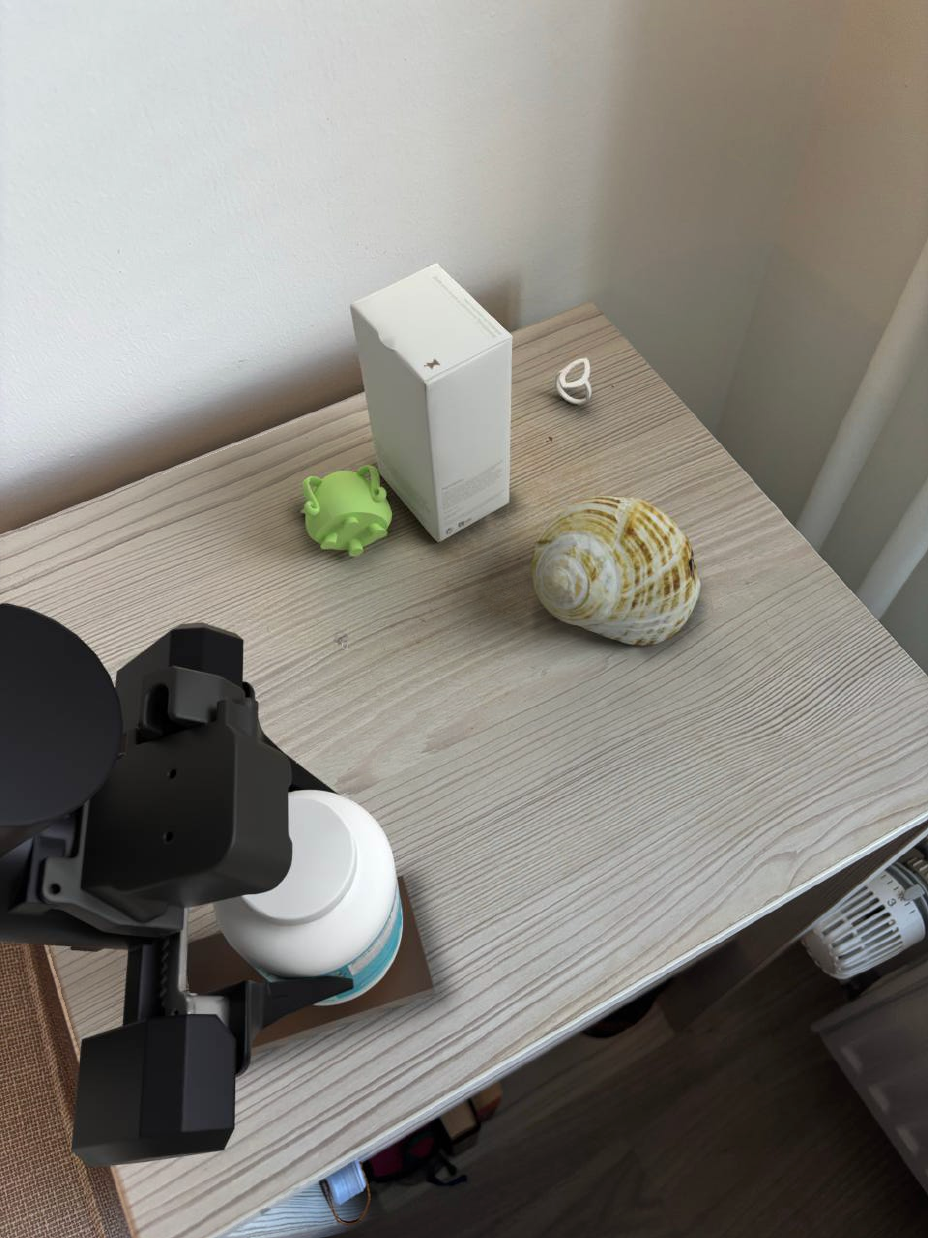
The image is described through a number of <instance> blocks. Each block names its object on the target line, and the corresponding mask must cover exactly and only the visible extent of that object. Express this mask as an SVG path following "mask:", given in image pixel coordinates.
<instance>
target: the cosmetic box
mask: <svg viewBox="0 0 928 1238" xmlns="http://www.w3.org/2000/svg"><path fill="white" fill-rule="evenodd" d="M349 311H350V316H351V322H352V325H353V326H352V327H353V332H354V338H355V344H356V349H357V355H358V362H359V366H360V373H361V376H362V377H361V379H362V383H363V389H364V394H365V401H366V407H367V413H368V417H369V423H370V429H371V435H372V438H373V446H374V447H373V448H374V453H375V458H376V464H377V470H378V472H379V475H380V476H381V477H382V478H383V480H385V482H386V483H387V484H388V485H389V486H390V488H391V489H392V490H393V492H394V493H395V494H396V495H397V497H398V498H399V499H400V500H401V502H403V504H404V505H405V506H406V507H407V509H408V510H409V511H410V512H411V513H412V515H413V516H414V517H415V518H416V519H417V520H418V522H419V523H420V524H421V525H422V526H423V527H424V529H425V530H426V531H427V533H429V535H430V536H431V537H432V538H433V539H434V540H435V542H437V543H441V542H443V541H444V540H446V539H448V538H449V537H451V536H453V535H455V534H456V533H458V532H460V531H462V530H464V529H465V528H468V527H470V526H471V525H473V524H474V523H476V522H478V521H480V520H481V519H483V518H484V517H486V516H488V515H490V514H492V513H493V512H495V511H497V510H498V509H501V508H502V507H504V506H505V505H507V504H509V503H510V477H511V475H510V474H511V422H512V421H511V420H512V419H511V418H512V417H511V416H512V365H513V364H512V360H513V338H514V336H513V335H512V334H511V333H510V332H509V331H508V330H507V329H506V328H504V327H503V326H502V325H501V324H500V323H499V322H498V321H497V320H496V319H495V318H494V317H493V316H492V315H491V314H490V313H489V312H488V311H487V310H486V309H485V308H484V307H482V305H481V304H479V302H477V300H475V298H474V297H472V296H471V295H470V294H469V293H468V292H467V291H466V290H465V289H464V288H463V287H462V286H461V285H460V284H459V282H457V281H456V280H455V279H454V278H453V277H452V276H451V275H449V273H447V272H446V271H445V269H444V268H442V267H441V266H440V265H439V264H438V263H434V264H431V265H429V266H427V267H425V268H422V269H420V270H418V271H416V272H414V273H412V274H410V275H409V276H407V277H406V276H405V278H402V279H401V280H398V281H397V282H395V283H393V284H389V285H388V286H386V287H383V288H382V289H380V290H377V291H375V292H373V293H371V294H369V295H366V296H364V297H362V298H360V299H358V300H356V301H354V302H352V303H350V304H349Z"/></svg>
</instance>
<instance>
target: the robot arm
mask: <svg viewBox="0 0 928 1238" xmlns="http://www.w3.org/2000/svg"><path fill="white" fill-rule="evenodd" d="M244 642H245V641H244V639H243V638H242V637H241V636H240V635H239V634H238V633H235V632H233V631H230V630H227V629H223V628H220V627H218V626H214V625H211V624H208V623H207V622H206V623H205V622H201V621H200V622H189V623H181V624H178V625H177V626H175V627H174V628H172V629H170V630H169V631H168V632H167V633H165V634H163V635H162V636H161V637H159V638H158V639H157V640H155V641H154V642H153V643H152V644H150V645H149V646H148V647H147V648H145V649H144V650H143V651H141V652H140V653H138V655H137V656H135V657H134V658H132V659H130V660H129V661H128V662H127V663H126V664H125V665H124V664H123V666H122V667H120V668H119V669H118V670H116V674H115V683H114V681H113V678H112V676H111V674H110V673H109V671H108V670H107V668H106V666H105V665H104V664H103V662H102V660H101V659H100V657H99V656H98V655H97V653H96V652H95V651H94V650H93V649H92V648H91V647H90V646H89V645H88V643H86V642H85V641H84V640H83V639H82V638H81V637H80V636H79V635H78V634H77V633H75V632H74V631H72V630H71V629H69V628H68V627H66V626H65V625H64V624H62V623H60V622H59V621H58V620H56V619H55V618H53V617H50V616H48V615H46V614H43V613H41V612H38V611H37V610H34V609H31V608H29V607H26V606H21V605H17V604H13V603H10V602H5V603H4V602H1V603H0V943H9V944H24V945H40V946H53V947H54V946H57V947H69V951H74V952H75V951H76V952H91V953H97V952H100V951H102V950H120V951H127V956H126V957H127V958H126V970H125V983H124V997H123V1008H122V1009H123V1010H122V1023H121V1026H119V1027H115V1028H112V1029H108V1030H106V1031H102V1032H99V1033H96V1034H93V1035H89V1036H87V1037H84V1038H81V1041H80V1051H79V1052H80V1053H79V1063H78V1071H77V1073H78V1074H77V1084H76V1092H75V1093H76V1095H75V1106H74V1115H73V1125H72V1126H73V1127H72V1135H71V1136H72V1137H71V1146H70V1147H71V1148H70V1150H71V1151H72V1152H73V1153H74V1154H75V1155H76V1156H77V1158H79V1160H81V1161H82V1162H83V1163H84V1164H85V1165H86V1166H87V1167H88V1168H102V1167H113V1166H123V1165H132V1164H141V1163H149V1162H157V1161H162V1160H169V1159H175V1158H182V1157H189V1156H195V1155H202V1154H209V1153H216V1152H223V1151H225V1150H226V1148H227V1146H228V1144H229V1142H230V1139H231V1137H232V1135H233V1133H234V1131H235V1128H236V1085H237V1083H236V1082H237V1081H236V1078H239V1077H241V1076H243V1075H244V1074H245V1073H246V1071H247V1070H248V1069H249V1066H250V1065H251V1061H252V1057H253V1056H252V1042H253V1039H254V1038H255V1037H256V1036H257V1034H258V1033H259V1032H260V1031H262V1030H263V1029H265V1028H266V1027H268V1026H270V1025H271V1024H273V1023H274V1022H276V1021H278V1020H279V1019H281V1018H283V1017H285V1016H286V1015H289V1014H291V1013H293V1012H295V1011H298V1010H300V1009H303V1008H306V1007H308V1006H311V1005H313V1004H316V1003H318V1002H321V1001H324V1000H326V999H329V998H331V997H334V996H336V995H339V994H342V993H344V992H347V991H349V990H352V989H353V988H354V980H353V979H352V978H345V977H336V976H324V977H314V978H304V979H294V980H284V981H274V982H264V983H257V982H254V981H251V980H243V981H240V982H237V983H234V984H231V985H228V986H225V987H222V988H219V989H216V990H213V991H210V992H207V993H204V994H201V995H198V993H189V991H187V986H186V985H187V973H186V967H187V945H188V943H189V923H190V922H189V920H190V919H189V918H190V909H191V908H195V907H199V906H204V905H208V904H213V902H217V901H221V900H226V899H230V898H234V897H239V896H243V895H251V894H260V893H264V892H268V891H270V890H272V889H274V888H276V887H277V886H278V885H279V884H280V883H281V882H282V881H283V880H284V879H285V877H286V876H287V874H288V872H289V869H290V867H291V863H292V841H291V839H290V836H289V802H288V793H289V792H294V791H301V790H318V791H325V792H330V793H334V794H337V795H340V794H339V793H338V792H337V791H335V790H334V789H333V788H331V787H330V786H329V785H328V784H326V783H325V782H324V781H322V780H321V779H319V778H318V777H317V776H315V775H314V774H313V773H312V772H310V771H309V770H308V769H306V768H305V767H304V766H302V765H301V764H300V763H298V762H297V761H296V760H295V759H293V758H292V757H291V756H289V755H288V754H287V753H285V752H284V750H282V749H281V748H280V747H279V746H278V745H277V744H276V743H275V742H274V741H273V740H272V739H271V738H270V737H268V736H267V735H266V734H265V732H264V730H263V728H262V725H261V722H260V718H259V715H260V714H259V708H260V707H259V704H260V703H259V701H258V700H256V690H255V689H254V687H253V685H252V684H251V683H250V682H248V681H246V680H244Z"/></svg>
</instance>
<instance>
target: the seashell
mask: <svg viewBox="0 0 928 1238" xmlns="http://www.w3.org/2000/svg"><path fill="white" fill-rule="evenodd" d="M696 563H697V562H696V560H695V554H694V551H693V547H692V543H691V541H690V539H689V537H688V536H687V534H686V533H685V532H683V531H682V530H680V529H679V527H678V525H677V524H676V523H675V521H673V519H672V518H670V517H669V516H668V515H667V514H666V513H665V512H663V511H662V510H661V509H659V508H658V507H656V506H654V505H653V504H651V503H650V502H647V501H645V500H643V499H641V498H638V497H628V498H627V497H624V496H618V495H597V496H593V497H587V498H583V499H581V500H577V501H575V502H572V503H571V504H569V505H567V506H566V507H565V508H564V509H563V510H562V511H560V512H559V513H558V514H557V515H556V516H555V517H554V518H552V519H551V520H550V521H549V522H548V524H547V525H546V526H545V527H544V528H543V530H542V532H541V533H540V535H538V538H537V540H536V542H535V545H534V553H533V555H532V560H531V579H532V580H531V581H532V584H533V587H534V591H535V594H536V595H537V598H538V600H539V602H540V603H541V604H542V605H543V607H544V608H545V609H546V610H547V611H548V613H550V615H551V616H553V617H554V618H556V619H558V620H559V621H561V622H563V623H565V624H570V625H573V626H580V627H582V629H584V630H587V631H589V632H593V633H595V634H598V635H599V636H602V637H604V638H608V639H610V640H613V641H618V642H619V643H624V644H627V645H633V646H653V645H656V644H660V643H663V642H665V641H667V640H670V639H671V638H672V637H673V636H675V635H676V633H678V632H679V631H680V630H681V629H682V628H683V626H685V624H686V623H687V622H688V620H689V618H690V617H691V614H692V613H693V611H694V609H695V607H696V604H697V601H698V598H699V595H700V593H701V581H700V577H699V572H698V567H697V564H696Z"/></svg>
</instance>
